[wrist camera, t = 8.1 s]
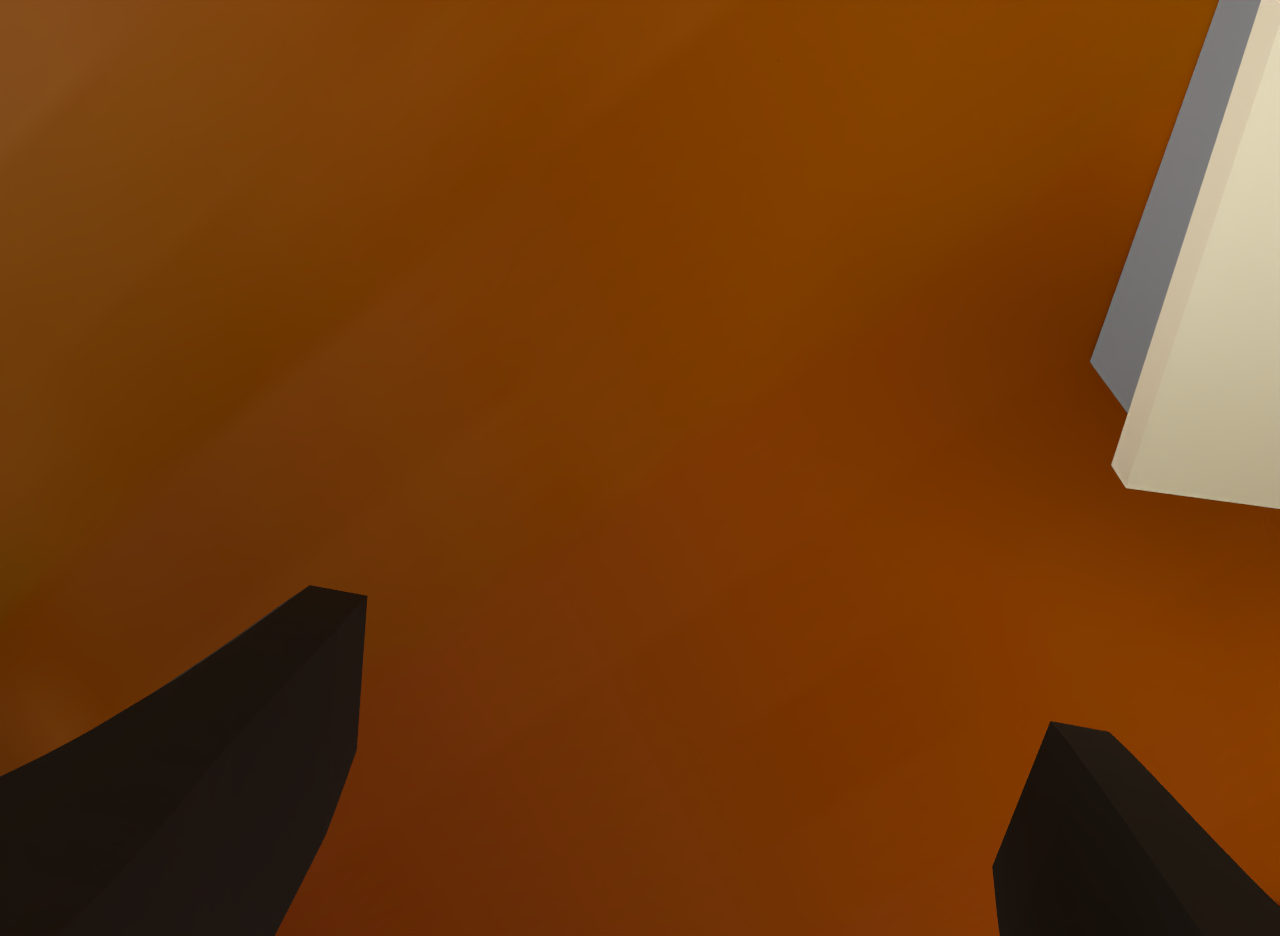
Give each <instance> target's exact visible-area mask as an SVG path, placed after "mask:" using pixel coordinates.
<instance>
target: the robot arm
mask: <svg viewBox="0 0 1280 936" xmlns="http://www.w3.org/2000/svg"><path fill="white" fill-rule="evenodd" d="M366 607H367V596H365V595H360V594H354V593H349V592H343V591H338V590H332V589H327V588H322V587H316V586H311V585H310V586H308V587H307V588H305V589H304V590H302V591H301V592H299V593H298V594H296V595H295V596H293V597H292V598H290V599H289V600H287V601H286V602H284V603H283V604H281V605H280V606H279V607H277V608H276V609H274V610H273V611H272V612H270V613H269V614H267V615H266V616H265V617H263V618H262V619H260V620H259V621H258V622H256V623H255V624H253V625H252V626H251V627H249V628H248V629H246V630H245V631H244V632H242V633H241V634H239V635H238V636H237V637H235V638H234V639H232V640H231V641H229V642H228V643H227V644H225V645H224V646H222V647H221V648H219V649H218V650H217V651H215V652H214V653H212V654H211V655H209V656H208V657H206V658H205V659H203V660H202V661H200V662H199V663H197V664H196V665H194V666H193V667H191V668H190V669H188V670H187V671H185V672H184V673H182V674H181V675H179V676H178V677H176V678H175V679H173V680H172V681H170V682H169V683H167V684H166V685H164V686H163V687H161V688H160V689H158V690H157V691H155V692H153V693H152V694H150V695H149V696H147V697H145V698H144V699H142V700H140V701H139V702H137V703H135V704H134V705H132V706H130V707H129V708H127V709H125V710H124V711H122V712H120V713H119V714H117V715H115V716H114V717H112V718H110V719H109V720H107V721H105V722H104V723H102V724H100V725H99V726H97V727H95V728H94V729H92V730H90V731H89V732H87V733H85V734H83V735H81V736H80V737H78V738H76V739H74V740H72V741H70V742H69V743H67V744H65V745H63V746H61V747H59V748H57V749H55V750H53V751H51V752H50V753H48V754H46V755H44V756H42V757H40V758H38V759H36V760H34V761H32V762H29V763H27V764H25V765H23V766H21V767H19V768H17V769H15V770H13V771H11V772H9V773H7V774H5V775H3V776H1V777H0V936H275V934H276V932H277V930H278V928H279V926H280V924H281V922H282V920H283V918H284V916H285V914H286V912H287V911H288V909H289V907H290V905H291V903H292V901H293V899H294V897H295V895H296V893H297V891H298V889H299V887H300V885H301V883H302V881H303V879H304V877H305V875H306V873H307V871H308V869H309V867H310V865H311V863H312V861H313V859H314V857H315V855H316V853H317V851H318V849H319V847H320V845H321V843H322V841H323V839H324V837H325V835H326V833H327V830H328V827H329V825H330V822H331V819H332V817H333V814H334V811H335V809H336V806H337V803H338V801H339V798H340V795H341V793H342V790H343V787H344V784H345V781H346V778H347V776H348V773H349V770H350V767H351V764H352V761H353V759H354V756H355V753H356V750H357V737H358V723H359V708H360V694H361V679H362V665H363V650H364V636H365V621H366ZM992 868H993V878H994V888H995V898H996V908H997V918H998V925H999V933H1000V936H1280V907H1279V906H1278V905H1277V904H1276V903H1275V902H1274V901H1273V900H1272V899H1271V898H1270V897H1269V896H1268V895H1267V894H1266V893H1265V892H1264V891H1263V890H1262V889H1261V888H1260V887H1259V886H1258V885H1257V884H1256V883H1255V882H1254V881H1253V880H1252V879H1251V878H1250V877H1249V876H1248V875H1247V874H1246V873H1245V872H1244V871H1243V870H1242V869H1241V868H1240V867H1239V866H1238V865H1237V864H1236V862H1235V861H1234V860H1233V859H1232V858H1231V857H1230V856H1229V855H1228V854H1227V853H1226V852H1225V851H1224V850H1223V849H1222V848H1221V847H1220V846H1219V845H1218V844H1217V843H1216V842H1215V841H1214V840H1213V839H1212V838H1211V837H1210V835H1209V834H1208V833H1207V832H1206V831H1205V830H1204V829H1203V828H1202V827H1201V826H1200V825H1199V824H1198V823H1197V822H1196V821H1195V820H1194V819H1193V818H1192V816H1191V815H1190V814H1189V813H1188V812H1187V811H1186V810H1185V809H1184V808H1183V807H1182V806H1181V805H1180V804H1179V803H1178V802H1177V801H1176V800H1175V798H1174V797H1173V796H1172V795H1171V794H1170V793H1169V792H1168V791H1167V790H1166V789H1165V788H1164V787H1163V786H1162V785H1161V784H1160V783H1159V782H1158V780H1157V779H1156V778H1155V777H1154V776H1153V775H1152V774H1151V773H1150V772H1149V771H1148V770H1147V769H1146V768H1145V767H1144V766H1143V765H1142V764H1141V763H1140V762H1139V761H1138V760H1137V759H1136V758H1135V757H1134V756H1133V755H1132V754H1131V753H1130V752H1129V751H1128V750H1127V749H1126V748H1125V747H1124V746H1123V745H1122V744H1121V743H1120V742H1119V741H1118V740H1117V739H1116V738H1115V737H1114V736H1113V735H1112V734H1111V733H1109V732H1107V731H1101V730H1096V729H1090V728H1085V727H1079V726H1074V725H1068V724H1063V723H1058V722H1052V721H1050V724H1049V726H1048V729H1047V731H1046V734H1045V736H1044V739H1043V741H1042V744H1041V746H1040V749H1039V751H1038V754H1037V756H1036V759H1035V761H1034V764H1033V766H1032V769H1031V771H1030V774H1029V776H1028V779H1027V781H1026V784H1025V786H1024V789H1023V791H1022V794H1021V796H1020V799H1019V801H1018V804H1017V806H1016V809H1015V811H1014V814H1013V816H1012V819H1011V821H1010V824H1009V826H1008V829H1007V831H1006V834H1005V836H1004V839H1003V841H1002V844H1001V846H1000V849H999V851H998V854H997V856H996V859H995V861H994V864H993V866H992Z"/></svg>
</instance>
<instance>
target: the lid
mask: <svg viewBox="0 0 1280 936" xmlns="http://www.w3.org/2000/svg"><path fill="white" fill-rule="evenodd" d="M1111 466H1112V467H1113V469H1114V470H1115V472H1116V473H1117V475H1118V476H1119V478H1120V480H1121V481H1122V483H1123V484H1124V486H1125V487H1126V488H1129V489H1137V490H1144V491H1152V492H1159V493H1166V494H1174V495H1181V496H1189V497H1196V498H1203V499H1211V500H1218V501H1226V502H1233V503H1240V504H1248V505H1255V506H1263V507H1270V508H1278V509H1280V0H1261V2H1260V5H1259V8H1258V11H1257V15H1256V18H1255V21H1254V24H1253V27H1252V30H1251V33H1250V36H1249V39H1248V42H1247V46H1246V49H1245V52H1244V55H1243V58H1242V61H1241V64H1240V67H1239V70H1238V73H1237V77H1236V80H1235V83H1234V86H1233V89H1232V92H1231V95H1230V98H1229V101H1228V104H1227V108H1226V111H1225V114H1224V117H1223V120H1222V123H1221V126H1220V129H1219V132H1218V136H1217V139H1216V142H1215V145H1214V148H1213V151H1212V154H1211V157H1210V160H1209V163H1208V167H1207V170H1206V173H1205V176H1204V179H1203V182H1202V185H1201V188H1200V191H1199V194H1198V198H1197V201H1196V204H1195V207H1194V210H1193V213H1192V216H1191V219H1190V222H1189V226H1188V229H1187V232H1186V235H1185V238H1184V241H1183V244H1182V247H1181V250H1180V253H1179V257H1178V260H1177V263H1176V266H1175V269H1174V272H1173V275H1172V278H1171V281H1170V284H1169V288H1168V291H1167V294H1166V297H1165V300H1164V303H1163V306H1162V309H1161V312H1160V315H1159V319H1158V322H1157V325H1156V328H1155V331H1154V334H1153V337H1152V340H1151V343H1150V347H1149V350H1148V353H1147V356H1146V359H1145V362H1144V365H1143V368H1142V371H1141V374H1140V378H1139V381H1138V384H1137V387H1136V390H1135V393H1134V396H1133V399H1132V402H1131V405H1130V409H1129V412H1128V415H1127V418H1126V421H1125V424H1124V427H1123V430H1122V433H1121V437H1120V440H1119V443H1118V446H1117V449H1116V452H1115V455H1114V458H1113V461H1112V464H1111Z"/></svg>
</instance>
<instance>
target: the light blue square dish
mask: <svg viewBox="0 0 1280 936" xmlns="http://www.w3.org/2000/svg"><path fill="white" fill-rule="evenodd" d="M1260 2H1261V0H1219V3H1218V6H1217V8H1216V11H1215V14H1214V17H1213V20H1212V22H1211V25H1210V28H1209V31H1208V34H1207V36H1206V39H1205V42H1204V45H1203V48H1202V50H1201V53H1200V56H1199V59H1198V61H1197V64H1196V67H1195V70H1194V73H1193V75H1192V78H1191V81H1190V84H1189V87H1188V89H1187V92H1186V95H1185V98H1184V101H1183V103H1182V106H1181V109H1180V112H1179V115H1178V117H1177V120H1176V123H1175V126H1174V129H1173V131H1172V134H1171V137H1170V140H1169V143H1168V145H1167V148H1166V151H1165V154H1164V156H1163V159H1162V162H1161V165H1160V168H1159V170H1158V173H1157V176H1156V179H1155V182H1154V184H1153V187H1152V190H1151V193H1150V196H1149V198H1148V201H1147V204H1146V207H1145V210H1144V212H1143V215H1142V218H1141V221H1140V224H1139V226H1138V229H1137V232H1136V235H1135V237H1134V240H1133V243H1132V246H1131V249H1130V251H1129V254H1128V257H1127V260H1126V263H1125V265H1124V268H1123V271H1122V274H1121V277H1120V279H1119V282H1118V285H1117V288H1116V291H1115V293H1114V296H1113V299H1112V302H1111V305H1110V307H1109V310H1108V313H1107V316H1106V319H1105V321H1104V324H1103V327H1102V330H1101V332H1100V335H1099V338H1098V341H1097V344H1096V346H1095V349H1094V352H1093V355H1092V358H1091V360H1090V363H1091V364H1092V365H1093V367H1094V368H1095V370H1096V371H1097V372H1098V374H1099V375H1100V376H1101V378H1102V379H1103V380H1104V382H1105V383H1106V384H1107V386H1108V387H1109V389H1110V390H1111V391H1112V393H1113V394H1114V395H1115V397H1116V398H1117V399H1118V401H1119V402H1120V404H1121V405H1122V406H1123V408H1124V409H1125V410H1126V412H1127V413H1128V412H1129V409H1130V405H1131V402H1132V399H1133V396H1134V393H1135V390H1136V387H1137V384H1138V381H1139V378H1140V374H1141V371H1142V368H1143V365H1144V362H1145V359H1146V356H1147V353H1148V350H1149V347H1150V343H1151V340H1152V337H1153V334H1154V331H1155V328H1156V325H1157V322H1158V319H1159V315H1160V312H1161V309H1162V306H1163V303H1164V300H1165V297H1166V294H1167V291H1168V288H1169V284H1170V281H1171V278H1172V275H1173V272H1174V269H1175V266H1176V263H1177V260H1178V257H1179V253H1180V250H1181V247H1182V244H1183V241H1184V238H1185V235H1186V232H1187V229H1188V226H1189V222H1190V219H1191V216H1192V213H1193V210H1194V207H1195V204H1196V201H1197V198H1198V194H1199V191H1200V188H1201V185H1202V182H1203V179H1204V176H1205V173H1206V170H1207V167H1208V163H1209V160H1210V157H1211V154H1212V151H1213V148H1214V145H1215V142H1216V139H1217V136H1218V132H1219V129H1220V126H1221V123H1222V120H1223V117H1224V114H1225V111H1226V108H1227V104H1228V101H1229V98H1230V95H1231V92H1232V89H1233V86H1234V83H1235V80H1236V77H1237V73H1238V70H1239V67H1240V64H1241V61H1242V58H1243V55H1244V52H1245V49H1246V46H1247V42H1248V39H1249V36H1250V33H1251V30H1252V27H1253V24H1254V21H1255V18H1256V15H1257V11H1258V8H1259V5H1260Z"/></svg>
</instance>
